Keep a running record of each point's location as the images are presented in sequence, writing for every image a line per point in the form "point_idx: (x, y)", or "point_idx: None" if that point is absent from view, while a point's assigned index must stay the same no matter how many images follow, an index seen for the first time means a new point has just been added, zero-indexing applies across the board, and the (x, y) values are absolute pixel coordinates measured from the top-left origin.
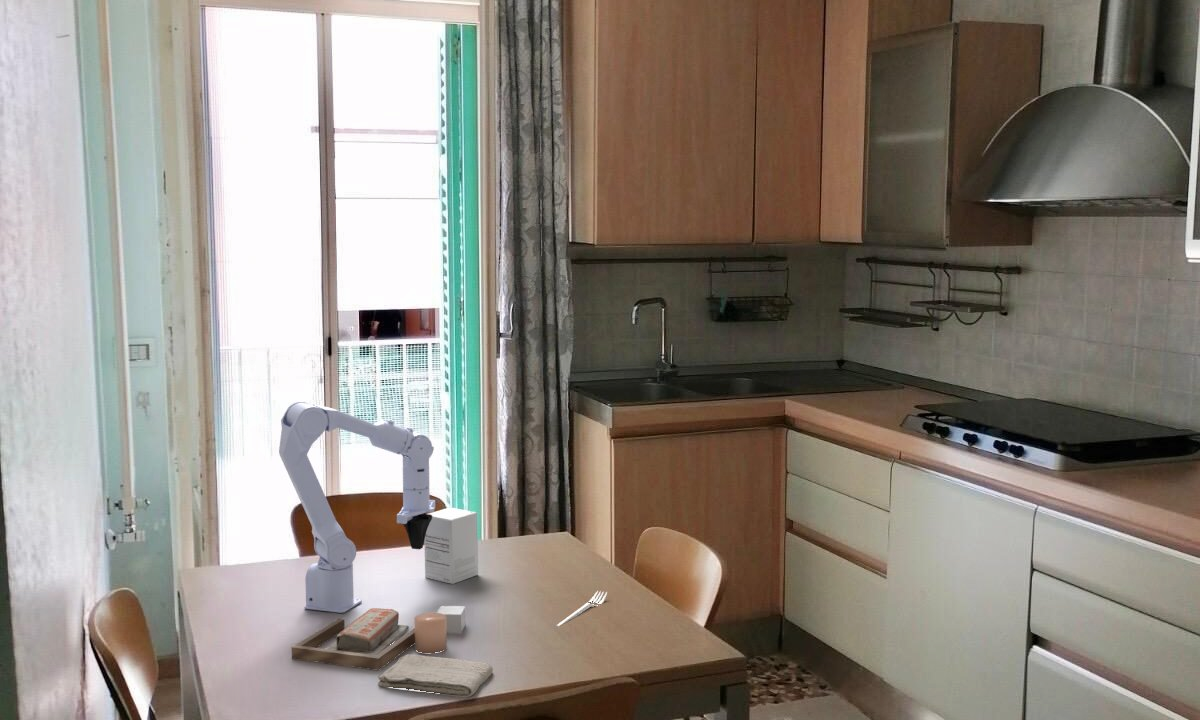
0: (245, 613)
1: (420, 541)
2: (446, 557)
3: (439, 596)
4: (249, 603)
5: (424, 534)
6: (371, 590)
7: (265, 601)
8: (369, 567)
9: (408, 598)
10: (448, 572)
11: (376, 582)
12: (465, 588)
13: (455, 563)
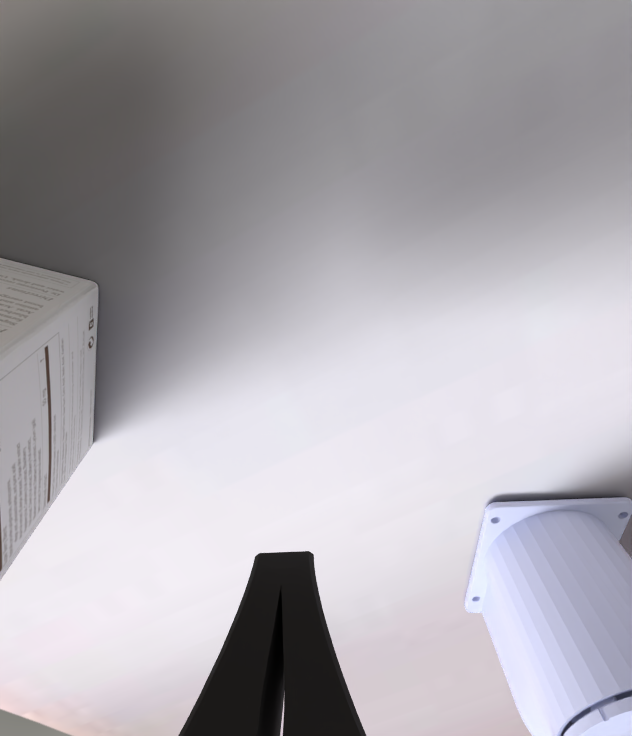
0: None
1: (325, 620)
2: (15, 397)
3: (315, 250)
4: None
5: (245, 687)
6: (339, 533)
7: None
8: (111, 635)
9: (392, 375)
10: (69, 334)
11: (246, 558)
12: (119, 172)
13: (1, 318)
